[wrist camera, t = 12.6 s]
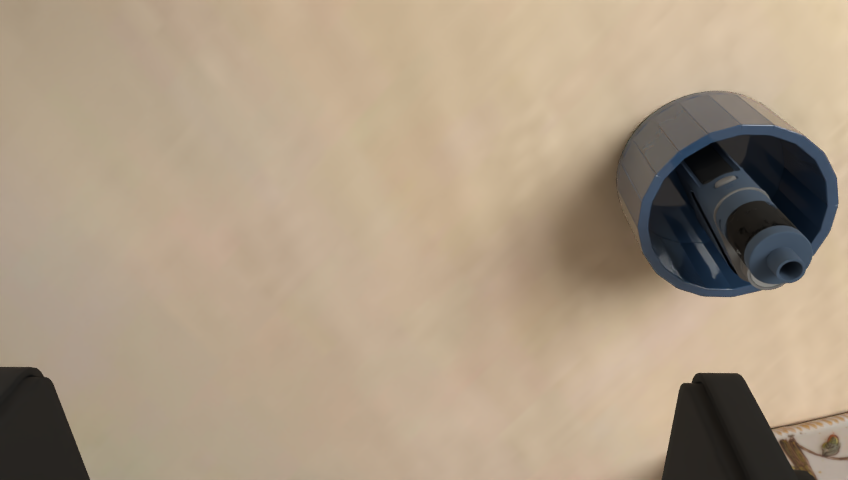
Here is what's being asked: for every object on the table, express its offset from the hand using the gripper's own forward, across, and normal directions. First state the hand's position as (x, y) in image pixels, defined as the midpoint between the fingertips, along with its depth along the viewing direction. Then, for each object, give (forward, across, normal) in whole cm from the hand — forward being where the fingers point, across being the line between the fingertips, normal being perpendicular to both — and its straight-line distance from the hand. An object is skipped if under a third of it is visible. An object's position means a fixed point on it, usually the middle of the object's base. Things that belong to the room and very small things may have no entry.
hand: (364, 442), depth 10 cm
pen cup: (+27, -14, +8) cm, 32 cm away
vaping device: (+27, -14, +7) cm, 31 cm away
